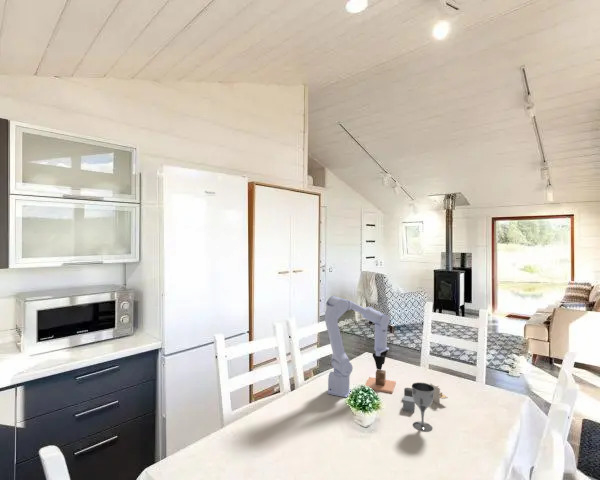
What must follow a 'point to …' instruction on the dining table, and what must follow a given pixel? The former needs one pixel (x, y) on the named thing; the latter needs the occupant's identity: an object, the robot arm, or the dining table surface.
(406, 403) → the grey cube
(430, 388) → the wine glass
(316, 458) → the dining table surface
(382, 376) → the walnut block
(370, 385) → the terracotta tile
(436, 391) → the architectural model
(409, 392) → the rubber cylinder
